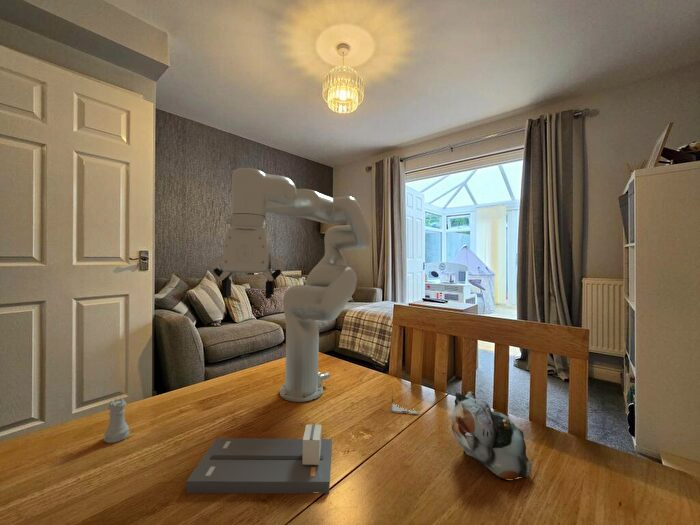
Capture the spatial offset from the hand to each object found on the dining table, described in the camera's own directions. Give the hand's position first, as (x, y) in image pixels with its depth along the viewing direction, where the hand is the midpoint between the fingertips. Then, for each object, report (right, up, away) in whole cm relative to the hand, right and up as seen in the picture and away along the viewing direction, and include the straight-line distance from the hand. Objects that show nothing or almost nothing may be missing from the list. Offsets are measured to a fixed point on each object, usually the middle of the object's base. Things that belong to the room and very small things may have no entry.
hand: (247, 297), depth 70 cm
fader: (+17, -28, -13) cm, 36 cm away
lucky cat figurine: (+52, -32, -10) cm, 62 cm away
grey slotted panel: (+8, -31, -13) cm, 34 cm away
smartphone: (+39, -32, +15) cm, 53 cm away
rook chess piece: (-27, -30, -5) cm, 41 cm away
